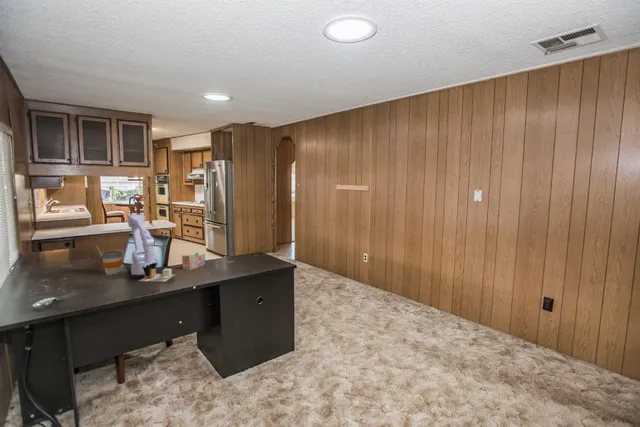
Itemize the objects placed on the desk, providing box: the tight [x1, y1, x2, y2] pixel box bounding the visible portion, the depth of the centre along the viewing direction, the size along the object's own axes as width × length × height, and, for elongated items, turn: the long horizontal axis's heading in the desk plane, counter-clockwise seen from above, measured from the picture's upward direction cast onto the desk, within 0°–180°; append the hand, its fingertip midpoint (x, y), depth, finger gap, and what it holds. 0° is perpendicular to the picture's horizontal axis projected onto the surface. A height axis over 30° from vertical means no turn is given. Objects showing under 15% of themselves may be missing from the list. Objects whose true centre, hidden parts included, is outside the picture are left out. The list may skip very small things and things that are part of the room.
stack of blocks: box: [181, 251, 206, 271], centre depth 253 cm, size 21×6×12 cm, turn 169°
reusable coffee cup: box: [101, 250, 123, 276], centre depth 236 cm, size 13×13×15 cm
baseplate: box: [139, 273, 177, 282], centre depth 224 cm, size 18×16×1 cm
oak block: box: [143, 268, 157, 278], centre depth 223 cm, size 5×5×4 cm
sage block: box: [162, 268, 173, 276], centre depth 228 cm, size 4×4×4 cm
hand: (150, 274), depth 223 cm, fingers closed on oak block, 5 cm apart
